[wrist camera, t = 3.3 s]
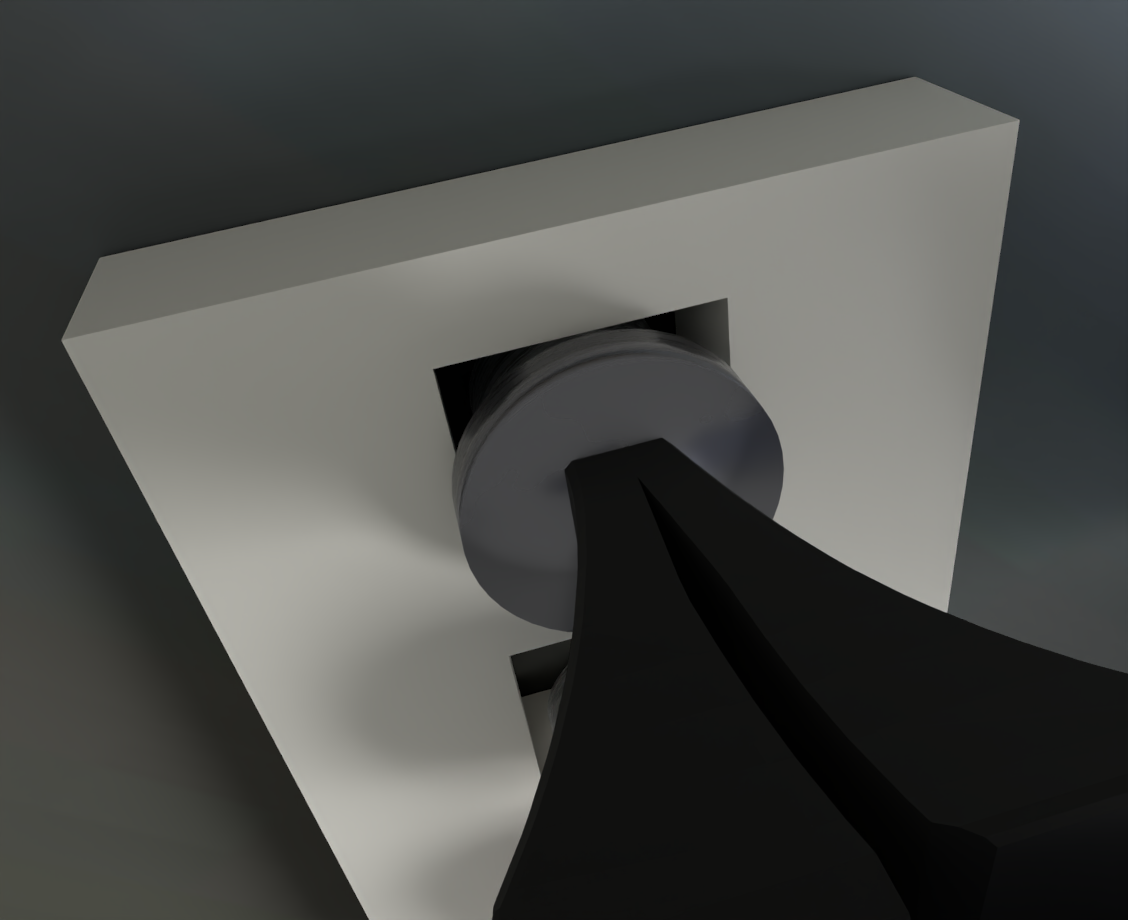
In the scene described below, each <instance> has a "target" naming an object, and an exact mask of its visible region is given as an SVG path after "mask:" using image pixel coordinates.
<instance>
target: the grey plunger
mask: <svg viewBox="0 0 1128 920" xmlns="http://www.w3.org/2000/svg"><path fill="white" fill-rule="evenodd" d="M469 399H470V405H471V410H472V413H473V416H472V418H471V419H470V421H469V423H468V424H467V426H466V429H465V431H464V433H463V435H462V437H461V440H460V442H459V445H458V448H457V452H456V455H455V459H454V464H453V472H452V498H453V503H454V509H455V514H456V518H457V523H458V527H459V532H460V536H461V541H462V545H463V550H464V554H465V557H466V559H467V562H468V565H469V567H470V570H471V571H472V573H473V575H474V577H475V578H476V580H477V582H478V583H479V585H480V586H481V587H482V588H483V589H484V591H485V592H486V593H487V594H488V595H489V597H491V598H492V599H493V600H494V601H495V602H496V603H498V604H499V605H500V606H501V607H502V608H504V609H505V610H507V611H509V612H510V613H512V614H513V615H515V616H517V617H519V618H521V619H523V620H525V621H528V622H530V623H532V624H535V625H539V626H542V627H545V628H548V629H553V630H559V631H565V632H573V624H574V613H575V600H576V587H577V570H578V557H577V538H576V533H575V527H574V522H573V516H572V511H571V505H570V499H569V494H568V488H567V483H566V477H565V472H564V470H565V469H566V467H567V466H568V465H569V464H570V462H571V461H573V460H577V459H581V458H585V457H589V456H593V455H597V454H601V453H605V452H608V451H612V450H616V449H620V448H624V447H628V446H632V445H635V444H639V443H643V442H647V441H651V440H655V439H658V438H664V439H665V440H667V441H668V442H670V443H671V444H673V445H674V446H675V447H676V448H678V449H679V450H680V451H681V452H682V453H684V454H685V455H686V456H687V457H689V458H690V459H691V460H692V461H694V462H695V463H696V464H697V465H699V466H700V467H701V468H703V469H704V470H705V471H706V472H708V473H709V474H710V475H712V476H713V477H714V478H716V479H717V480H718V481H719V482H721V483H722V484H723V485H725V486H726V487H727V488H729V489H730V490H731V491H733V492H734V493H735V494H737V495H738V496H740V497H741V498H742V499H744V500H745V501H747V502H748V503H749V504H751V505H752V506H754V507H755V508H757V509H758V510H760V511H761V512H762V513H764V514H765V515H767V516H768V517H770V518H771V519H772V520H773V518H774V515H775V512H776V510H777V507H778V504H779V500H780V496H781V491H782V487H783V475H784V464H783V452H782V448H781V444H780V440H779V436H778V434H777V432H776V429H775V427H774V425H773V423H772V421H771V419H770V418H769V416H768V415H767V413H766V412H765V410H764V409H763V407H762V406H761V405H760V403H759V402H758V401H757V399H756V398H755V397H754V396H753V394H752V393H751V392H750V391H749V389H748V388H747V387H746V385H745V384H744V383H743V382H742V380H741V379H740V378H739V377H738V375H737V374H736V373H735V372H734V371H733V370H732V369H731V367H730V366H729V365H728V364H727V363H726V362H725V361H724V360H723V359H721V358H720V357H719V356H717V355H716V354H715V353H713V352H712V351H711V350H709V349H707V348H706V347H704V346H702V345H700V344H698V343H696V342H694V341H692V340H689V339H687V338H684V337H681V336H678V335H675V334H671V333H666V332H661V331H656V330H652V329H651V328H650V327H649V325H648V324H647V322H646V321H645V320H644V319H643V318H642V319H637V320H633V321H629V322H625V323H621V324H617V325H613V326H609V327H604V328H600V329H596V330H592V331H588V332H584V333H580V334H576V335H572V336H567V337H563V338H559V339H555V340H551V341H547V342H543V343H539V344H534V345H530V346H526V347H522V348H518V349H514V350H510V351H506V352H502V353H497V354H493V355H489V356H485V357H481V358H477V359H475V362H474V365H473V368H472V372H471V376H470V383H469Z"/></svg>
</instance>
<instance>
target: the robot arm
mask: <svg viewBox="0 0 1128 920" xmlns="http://www.w3.org/2000/svg"><path fill="white" fill-rule="evenodd" d="M564 472H565V477H566V483H567V488H568V494H569V499H570V505H571V511H572V516H573V522H574V527H575V533H576V538H577V557H578V570H577V587H576V600H575V613H574V624H573V632H572V639H571V647H570V653H569V659H568V665H567V671H566V677H565V682H564V687H563V692H562V696H561V701H560V705H559V710H558V714H557V719H556V723H555V728H554V732H553V735H552V739H551V743H550V747H549V751H548V754H547V758H546V761H545V764H544V767H543V770H542V774H541V777H540V780H539V783H538V786H537V790H536V793H535V796H534V799H533V802H532V806H531V809H530V812H529V815H528V818H527V821H526V824H525V827H524V829H523V832H522V835H521V838H520V840H519V843H518V845H517V848H516V850H515V853H514V855H513V858H512V860H511V863H510V865H509V868H508V870H507V873H506V875H505V878H504V880H503V883H502V885H501V888H500V890H499V893H498V895H497V898H496V901H495V903H494V906H493V916H492V920H1128V674H1127V673H1123V672H1119V671H1115V670H1112V669H1108V668H1104V667H1100V666H1096V665H1093V664H1089V663H1086V662H1083V661H1079V660H1076V659H1073V658H1070V657H1067V656H1064V655H1061V654H1058V653H1055V652H1052V651H1049V650H1045V649H1042V648H1039V647H1036V646H1033V645H1030V644H1027V643H1024V642H1021V641H1018V640H1015V639H1013V638H1010V637H1007V636H1004V635H1002V634H999V633H996V632H993V631H991V630H988V629H985V628H983V627H980V626H977V625H975V624H973V623H970V622H968V621H965V620H963V619H960V618H958V617H956V616H953V615H951V614H948V613H946V612H943V611H941V610H938V609H936V608H934V607H931V606H929V605H926V604H924V603H922V602H920V601H918V600H915V599H913V598H911V597H909V596H906V595H904V594H902V593H900V592H898V591H896V590H894V589H892V588H890V587H888V586H886V585H884V584H882V583H880V582H878V581H876V580H874V579H872V578H870V577H868V576H866V575H864V574H862V573H860V572H858V571H856V570H854V569H852V568H850V567H849V566H847V565H845V564H843V563H842V562H840V561H838V560H836V559H835V558H833V557H831V556H829V555H828V554H826V553H824V552H823V551H821V550H819V549H818V548H816V547H815V546H813V545H811V544H810V543H808V542H806V541H805V540H803V539H801V538H800V537H798V536H797V535H795V534H794V533H792V532H791V531H789V530H787V529H786V528H784V527H783V526H781V525H780V524H778V523H777V522H775V521H774V520H772V519H771V518H770V517H768V516H767V515H765V514H764V513H762V512H761V511H760V510H758V509H757V508H755V507H754V506H752V505H751V504H749V503H748V502H747V501H745V500H744V499H742V498H741V497H740V496H738V495H737V494H735V493H734V492H733V491H731V490H730V489H729V488H727V487H726V486H725V485H723V484H722V483H721V482H719V481H718V480H717V479H716V478H714V477H713V476H712V475H710V474H709V473H708V472H706V471H705V470H704V469H703V468H701V467H700V466H699V465H697V464H696V463H695V462H694V461H692V460H691V459H690V458H689V457H687V456H686V455H685V454H684V453H682V452H681V451H680V450H679V449H678V448H676V447H675V446H674V445H673V444H671V443H670V442H668V441H667V440H665V439H664V438H658V439H655V440H651V441H647V442H643V443H639V444H635V445H632V446H628V447H624V448H620V449H616V450H612V451H608V452H605V453H601V454H597V455H593V456H589V457H585V458H581V459H577V460H573V461H571V462H570V464H569V465H568V466H567V467H566V469H565V470H564Z"/></svg>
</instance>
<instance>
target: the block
mask: <svg viewBox="0 0 1128 920" xmlns="http://www.w3.org/2000/svg"><path fill="white" fill-rule="evenodd" d="M1019 122H1020V120H1019V119H1016V118H1014V117H1012V116H1009V115H1007V114H1004V113H1002V112H1000V111H997V110H995V109H992V108H990V107H988V106H985V105H983V104H980V103H978V102H976V101H973V100H971V99H968V98H966V97H964V96H961V95H959V94H956V93H954V92H952V91H949V90H947V89H944V88H942V87H940V86H937V85H935V84H932V83H930V82H927V81H925V80H923V79H920V78H918V77H911V78H907V79H902V80H898V81H893V82H889V83H884V84H880V85H875V86H871V87H866V88H862V89H857V90H853V91H848V92H844V93H839V94H835V95H830V96H826V97H821V98H817V99H812V100H808V101H803V102H799V103H794V104H789V105H785V106H780V107H776V108H771V109H767V110H762V111H758V112H753V113H749V114H744V115H740V116H735V117H731V118H726V119H722V120H717V121H713V122H708V123H704V124H699V125H695V126H690V127H686V128H681V129H677V130H672V131H668V132H663V133H659V134H654V135H650V136H645V137H641V138H636V139H632V140H627V141H623V142H618V143H614V144H609V145H605V146H600V147H596V148H591V149H587V150H582V151H578V152H573V153H569V154H564V155H560V156H555V157H551V158H546V159H542V160H537V161H533V162H528V163H524V164H519V165H515V166H510V167H506V168H501V169H497V170H492V171H488V172H483V173H479V174H474V175H470V176H465V177H461V178H456V179H452V180H447V181H443V182H438V183H434V184H429V185H425V186H420V187H416V188H411V189H407V190H402V191H398V192H393V193H389V194H384V195H380V196H375V197H371V198H366V199H362V200H357V201H353V202H348V203H344V204H339V205H334V206H330V207H325V208H321V209H316V210H312V211H307V212H303V213H298V214H294V215H289V216H285V217H280V218H276V219H271V220H267V221H262V222H258V223H253V224H249V225H244V226H240V227H235V228H231V229H226V230H222V231H217V232H213V233H208V234H204V235H199V236H195V237H190V238H186V239H181V240H177V241H172V242H168V243H163V244H159V245H154V246H150V247H145V248H141V249H136V250H132V251H127V252H123V253H118V254H114V255H109V256H105V257H100V258H99V260H98V262H97V264H96V267H95V269H94V271H93V273H92V275H91V277H90V279H89V282H88V284H87V286H86V288H85V290H84V292H83V295H82V297H81V299H80V301H79V303H78V305H77V307H76V310H75V312H74V314H73V316H72V318H71V320H70V322H69V325H68V327H67V329H66V331H65V333H64V335H63V338H62V340H61V341H62V343H63V345H64V347H65V348H66V350H67V352H68V354H69V356H70V358H71V360H72V362H73V364H74V365H75V367H76V369H77V371H78V373H79V375H80V377H81V379H82V380H83V382H84V384H85V386H86V388H87V390H88V392H89V394H90V396H91V397H92V399H93V401H94V403H95V405H96V407H97V409H98V411H99V412H100V414H101V416H102V418H103V420H104V422H105V424H106V426H107V427H108V429H109V431H110V433H111V435H112V437H113V439H114V441H115V443H116V444H117V446H118V448H119V450H120V452H121V454H122V456H123V458H124V459H125V461H126V463H127V465H128V467H129V469H130V471H131V473H132V475H133V476H134V478H135V480H136V482H137V484H138V486H139V488H140V490H141V491H142V493H143V495H144V497H145V499H146V501H147V503H148V505H149V506H150V508H151V510H152V512H153V514H154V516H155V518H156V520H157V522H158V523H159V525H160V527H161V529H162V531H163V533H164V535H165V537H166V538H167V540H168V542H169V544H170V546H171V548H172V550H173V552H174V554H175V555H176V557H177V559H178V561H179V563H180V565H181V567H182V569H183V570H184V572H185V574H186V576H187V578H188V580H189V582H190V584H191V585H192V587H193V589H194V591H195V593H196V595H197V597H198V599H199V601H200V602H201V604H202V606H203V608H204V610H205V612H206V614H207V616H208V617H209V619H210V621H211V623H212V625H213V627H214V629H215V631H216V633H217V634H218V636H219V638H220V640H221V642H222V644H223V646H224V648H225V649H226V651H227V653H228V655H229V657H230V659H231V661H232V663H233V665H234V666H235V668H236V670H237V672H238V674H239V676H240V678H241V680H242V681H243V683H244V685H245V687H246V689H247V691H248V693H249V695H250V696H251V698H252V700H253V702H254V704H255V706H256V708H257V710H258V712H259V713H260V715H261V717H262V719H263V721H264V723H265V725H266V727H267V728H268V730H269V732H270V734H271V736H272V738H273V740H274V742H275V744H276V745H277V747H278V749H279V751H280V753H281V755H282V757H283V759H284V760H285V762H286V764H287V766H288V768H289V770H290V772H291V774H292V775H293V777H294V779H295V781H296V783H297V785H298V787H299V789H300V791H301V792H302V794H303V796H304V798H305V800H306V802H307V804H308V806H309V807H310V809H311V811H312V813H313V815H314V817H315V819H316V821H317V823H318V824H319V826H320V828H321V830H322V832H323V834H324V836H325V838H326V839H327V841H328V843H329V845H330V847H331V849H332V851H333V853H334V854H335V856H336V858H337V860H338V862H339V864H340V866H341V868H342V870H343V871H344V873H345V875H346V877H347V879H348V881H349V883H350V885H351V886H352V888H353V890H354V892H355V894H356V896H357V898H358V900H359V902H360V903H361V905H362V907H363V909H364V911H365V913H366V915H367V917H368V918H369V920H492V916H493V906H494V903H495V901H496V898H497V895H498V893H499V890H500V888H501V885H502V883H503V880H504V878H505V875H506V873H507V870H508V868H509V865H510V863H511V860H512V858H513V855H514V853H515V850H516V848H517V845H518V843H519V840H520V838H521V835H522V832H523V829H524V827H525V824H526V821H527V818H528V815H529V812H530V809H531V806H532V802H533V799H534V796H535V793H536V790H537V786H538V783H539V780H540V777H541V774H542V770H543V767H544V764H545V761H546V758H547V754H548V751H549V747H550V743H551V739H552V735H553V732H552V728H551V724H550V721H549V717H548V710H547V708H548V699H549V695H550V691H551V689H549V690H545V691H542V692H538V693H535V694H531V695H528V696H524V697H521V694H520V691H519V687H518V683H517V679H516V675H515V672H514V668H513V664H512V660H511V655H515V654H518V653H522V652H526V651H529V650H533V649H536V648H540V647H544V646H547V645H551V644H554V643H558V642H562V641H565V640H569V639H572V632H565V631H559V630H553V629H548V628H545V627H542V626H539V625H535V624H532V623H530V622H528V621H525V620H523V619H521V618H519V617H517V616H515V615H513V614H512V613H510V612H509V611H507V610H505V609H504V608H502V607H501V606H500V605H499V604H498V603H496V602H495V601H494V600H493V599H492V598H491V597H489V595H488V594H487V593H486V592H485V591H484V589H483V588H482V587H481V586H480V585H479V583H478V582H477V580H476V578H475V577H474V575H473V573H472V571H471V570H470V567H469V565H468V562H467V559H466V557H465V554H464V550H463V545H462V541H461V536H460V532H459V527H458V523H457V518H456V514H455V509H454V503H453V498H452V472H453V464H454V459H455V455H456V452H457V451H456V447H455V444H454V440H453V436H452V432H451V428H450V425H449V421H448V417H447V413H446V409H445V406H444V402H443V398H442V394H441V390H440V387H439V383H438V379H437V375H436V371H435V369H436V368H440V367H444V366H448V365H452V364H456V363H460V362H465V361H469V360H473V359H477V358H481V357H485V356H489V355H493V354H497V353H502V352H506V351H510V350H514V349H518V348H522V347H526V346H530V345H534V344H539V343H543V342H547V341H551V340H555V339H559V338H563V337H567V336H572V335H576V334H580V333H584V332H588V331H592V330H596V329H600V328H604V327H609V326H613V325H617V324H621V323H625V322H629V321H633V320H637V319H642V318H646V317H650V316H654V315H658V314H662V313H666V312H670V311H674V312H675V325H676V335H678V336H681V337H684V338H687V339H689V340H692V341H694V342H696V343H698V344H700V345H702V346H704V347H706V348H707V349H709V350H711V351H712V352H713V353H715V354H716V355H717V356H719V357H720V358H721V359H723V360H724V361H725V362H726V363H727V364H728V365H729V366H730V367H731V369H732V370H733V371H734V372H735V373H736V374H737V375H738V377H739V378H740V379H741V380H742V382H743V383H744V384H745V385H746V387H747V388H748V389H749V391H750V392H751V393H752V394H753V396H754V397H755V398H756V399H757V401H758V402H759V403H760V405H761V406H762V407H763V409H764V410H765V412H766V413H767V415H768V416H769V418H770V419H771V421H772V423H773V425H774V427H775V429H776V432H777V434H778V436H779V440H780V444H781V448H782V452H783V464H784V475H783V487H782V491H781V496H780V500H779V504H778V507H777V510H776V512H775V515H774V518H773V520H774V521H775V522H777V523H778V524H780V525H781V526H783V527H784V528H786V529H787V530H789V531H791V532H792V533H794V534H795V535H797V536H798V537H800V538H801V539H803V540H805V541H806V542H808V543H810V544H811V545H813V546H815V547H816V548H818V549H819V550H821V551H823V552H824V553H826V554H828V555H829V556H831V557H833V558H835V559H836V560H838V561H840V562H842V563H843V564H845V565H847V566H849V567H850V568H852V569H854V570H856V571H858V572H860V573H862V574H864V575H866V576H868V577H870V578H872V579H874V580H876V581H878V582H880V583H882V584H884V585H886V586H888V587H890V588H892V589H894V590H896V591H898V592H900V593H902V594H904V595H906V596H909V597H911V598H913V599H915V600H918V601H920V602H922V603H924V604H926V605H929V606H931V607H934V608H936V609H938V610H941V611H943V612H946V613H947V610H948V603H949V596H950V590H951V583H952V576H953V569H954V562H955V556H956V549H957V542H958V535H959V529H960V522H961V515H962V508H963V501H964V495H965V488H966V481H967V474H968V468H969V461H970V454H971V447H972V440H973V434H974V427H975V420H976V413H977V407H978V400H979V393H980V386H981V379H982V373H983V366H984V359H985V352H986V346H987V339H988V332H989V325H990V318H991V312H992V305H993V298H994V291H995V284H996V278H997V271H998V264H999V257H1000V251H1001V244H1002V237H1003V230H1004V223H1005V217H1006V210H1007V203H1008V196H1009V190H1010V183H1011V176H1012V169H1013V162H1014V156H1015V149H1016V142H1017V135H1018V129H1019Z"/></svg>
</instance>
